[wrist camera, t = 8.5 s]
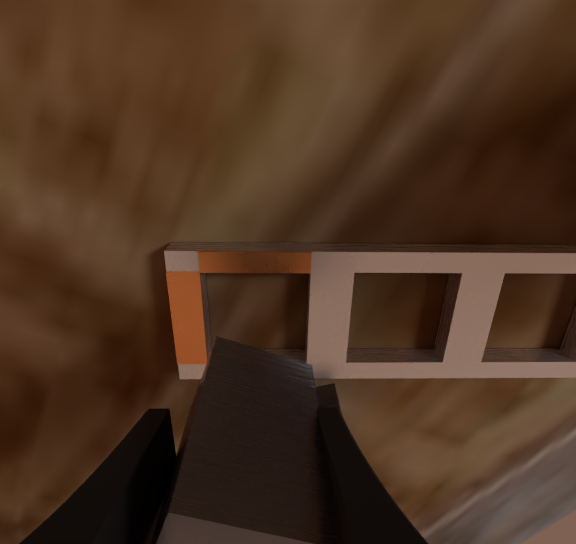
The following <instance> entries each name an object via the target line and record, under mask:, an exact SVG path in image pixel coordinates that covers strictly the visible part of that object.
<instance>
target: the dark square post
mask: <svg viewBox="0 0 576 544" xmlns="http://www.w3.org/2000/svg"><path fill="white" fill-rule="evenodd" d="M317 409H318V403H317V396H316V389H315V382H314V374H313V367H312V365H311V364H307V363H304V362H300V361H297V360H294V359H290V358H287V357H284V356H280V355H277V354H274V353H270V352H267V351H264V350H260V349H257V348H254V347H250V346H247V345H244V344H240V343H237V342H234V341H230V340H227V339H224V338H220V337H217V336H216V338H215V341H214V344H213V347H212V350H211V352H210V355H209V358H208V361H207V364H206V366H205V369H204V372H203V375H202V378H201V380H200V383H199V386H198V389H197V392H196V394H195V397H194V400H193V403H192V406H191V408H190V411H189V414H188V418H187V421H186V425H185V428H184V431H183V435H182V438H181V442H180V445H179V449H178V452H177V455H176V459H175V463H174V466H173V469H172V473H171V476H170V480H169V483H168V486H167V490H166V493H165V496H164V500H163V503H162V506H161V510H160V513H159V517H158V520H157V523H156V527H155V530H154V534H153V537H152V540H151V544H337V541H336V533H335V526H334V519H333V512H332V505H331V497H330V490H329V483H328V476H327V468H326V461H325V454H324V447H323V441H322V437H321V432H320V425H319V417H318V410H317Z"/></svg>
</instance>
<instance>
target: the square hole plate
mask: <svg viewBox="0 0 576 544" xmlns="http://www.w3.org/2000/svg"><path fill="white" fill-rule="evenodd" d="M164 256H165V264H166V278H167V286H168V294H169V302H170V310H171V318H172V326H173V334H174V342H175V350H176V358H177V364H178V369H179V377H180V379H201V378H202V375H203V372H204V369H205V366H206V364H207V361H208V358H209V355H210V352H211V350H212V347H211V334H210V321H209V309H208V296H207V283H206V273H308V292H307V316H306V341H305V349H260V350H264V351H267V352H270V353H274V354H277V355H280V356H284V357H287V358H290V359H294V360H297V361H300V362H304V363H307V364H311V365H312V367H313V374H314V379H342V378H568V377H576V305H575V308H574V311H573V313H572V316H571V319H570V322H569V324H568V327H567V330H566V333H565V335H564V338H563V341H562V344H561V346H560V348H544V349H485V346H486V342H487V338H488V335H489V331H490V327H491V323H492V320H493V316H494V312H495V309H496V305H497V301H498V297H499V294H500V290H501V286H502V282H503V279H504V275H505V273H560V274H576V245H530V244H375V243H221V242H171V243H170V244H169V245H168V247H167V248H166V249H165V250H164ZM354 273H449V276H448V281H447V286H446V291H445V296H444V301H443V306H442V311H441V316H440V321H439V325H438V330H437V335H436V340H435V345H434V349H347V346H348V336H349V325H350V314H351V304H352V293H353V282H354Z"/></svg>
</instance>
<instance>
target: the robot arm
mask: <svg viewBox="0 0 576 544" xmlns="http://www.w3.org/2000/svg"><path fill="white" fill-rule="evenodd" d="M317 410H318V417H319V425H320V432H321V437H322V441H323V447H324V454H325V461H326V468H327V476H328V483H329V490H330V497H331V505H332V512H333V519H334V526H335V533H336V541H337V544H428V543H427V542H426V540H425V539H424V538H423V537H422V536H421V534H420V533H419V532H418V531H417V530H416V528H415V527H414V526H413V525H412V523H411V522H410V521H409V520H408V518H407V517H406V516H405V515H404V513H403V512H402V511H401V510H400V508H399V507H398V506H397V504H396V503H395V502H394V500H393V499H392V497H391V496H390V495H389V493H388V492H387V490H386V489H385V487H384V486H383V485H382V483H381V482H380V480H379V479H378V477H377V476H376V474H375V473H374V471H373V470H372V468H371V466H370V465H369V463H368V462H367V460H366V458H365V457H364V455H363V454H362V452H361V450H360V449H359V447H358V445H357V443H356V442H355V440H354V438H353V436H352V434H351V433H350V431H349V429H348V427H347V425H346V423H345V421H344V419H343V417H342V414H341V412H340V410H339V409H338V408H337V407H323V408H318V409H317ZM175 459H176V452H175V445H174V438H173V431H172V424H171V417H170V410H169V409H149V410H147V411H146V412H145V414H144V415H143V416H142V417H141V418H140V420H139V421H138V422H137V423H136V425H135V426H134V427H133V428H132V429H131V431H130V432H129V433H128V434H127V435H126V436H125V438H124V439H123V440H122V441H121V442H120V444H119V445H118V446H117V447H116V448H115V449H114V450H113V452H112V453H111V454H110V455H109V456H108V457H107V458H106V459H105V460H104V462H103V463H102V464H101V465H100V466H99V467H98V468H97V469H96V470H95V472H94V473H93V474H92V475H91V476H90V477H89V478H88V479H87V480H86V481H85V482H84V483H83V484H82V485H81V486H80V487H79V488H78V489H77V490H76V491H75V492H74V493H73V494H72V495H71V496H70V497H69V498H68V499H67V500H66V501H65V502H64V503H63V504H62V505H61V506H60V507H59V508H58V509H57V510H56V511H55V512H54V513H53V514H52V515H51V516H50V517H49V518H48V519H46V520H45V521H44V522H43V523H42V524H41V525H40V526H39V527H38V528H37V529H36V530H34V531H33V532H32V533H31V534H30V535H29V536H28V537H26V538H25V539H24V540H23V541H22V542H21V543H19V544H151V540H152V537H153V534H154V530H155V527H156V523H157V520H158V517H159V513H160V510H161V506H162V503H163V500H164V496H165V493H166V490H167V486H168V483H169V480H170V476H171V473H172V469H173V466H174V463H175Z"/></svg>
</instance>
